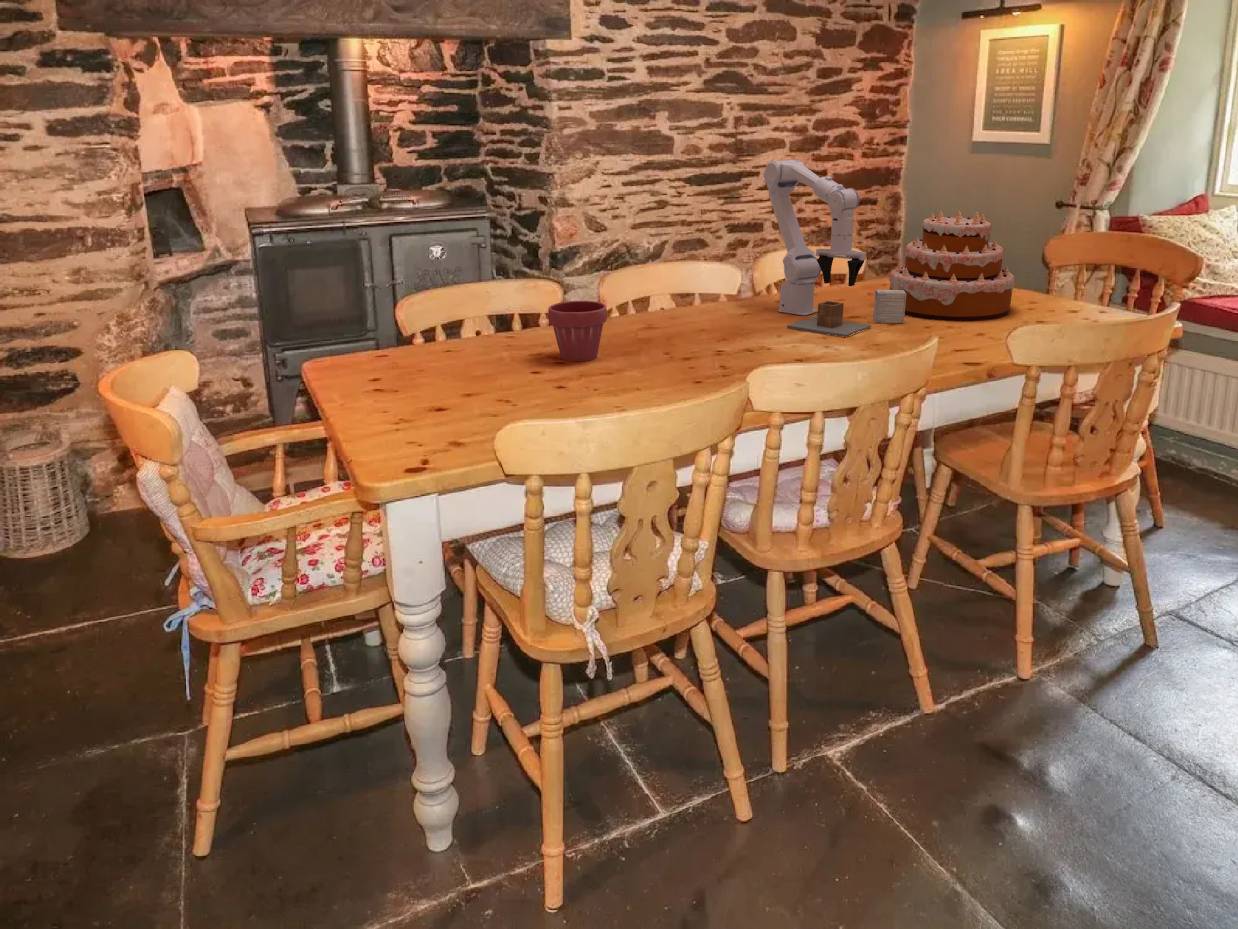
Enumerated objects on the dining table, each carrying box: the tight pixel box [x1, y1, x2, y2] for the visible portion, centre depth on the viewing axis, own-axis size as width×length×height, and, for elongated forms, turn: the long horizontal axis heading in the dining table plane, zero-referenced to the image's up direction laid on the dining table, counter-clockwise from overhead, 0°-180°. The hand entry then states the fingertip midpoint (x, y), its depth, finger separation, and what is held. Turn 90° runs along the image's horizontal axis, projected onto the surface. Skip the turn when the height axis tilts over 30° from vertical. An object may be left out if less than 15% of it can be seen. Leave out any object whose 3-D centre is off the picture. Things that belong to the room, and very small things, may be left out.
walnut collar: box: [816, 300, 845, 328], centre depth 274 cm, size 5×5×6 cm
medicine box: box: [873, 289, 906, 324], centre depth 280 cm, size 8×4×9 cm, turn 84°
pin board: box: [786, 316, 872, 338], centre depth 275 cm, size 18×14×4 cm
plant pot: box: [547, 300, 608, 362], centre depth 248 cm, size 14×14×13 cm
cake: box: [888, 210, 1016, 322], centre depth 292 cm, size 35×35×28 cm
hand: (839, 284), depth 279 cm, fingers open, 7 cm apart
